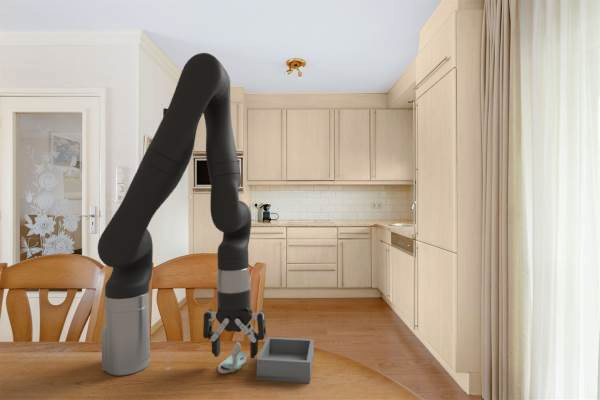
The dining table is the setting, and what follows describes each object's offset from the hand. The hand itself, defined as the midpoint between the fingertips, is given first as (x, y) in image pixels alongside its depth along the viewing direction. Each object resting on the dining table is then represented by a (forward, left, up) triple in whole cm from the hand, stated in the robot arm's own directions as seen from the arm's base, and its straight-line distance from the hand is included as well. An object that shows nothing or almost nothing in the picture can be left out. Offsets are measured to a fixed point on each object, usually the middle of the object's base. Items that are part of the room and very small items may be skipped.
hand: (235, 355), depth 83 cm
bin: (+12, +1, -3) cm, 12 cm away
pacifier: (-1, 0, -3) cm, 3 cm away
